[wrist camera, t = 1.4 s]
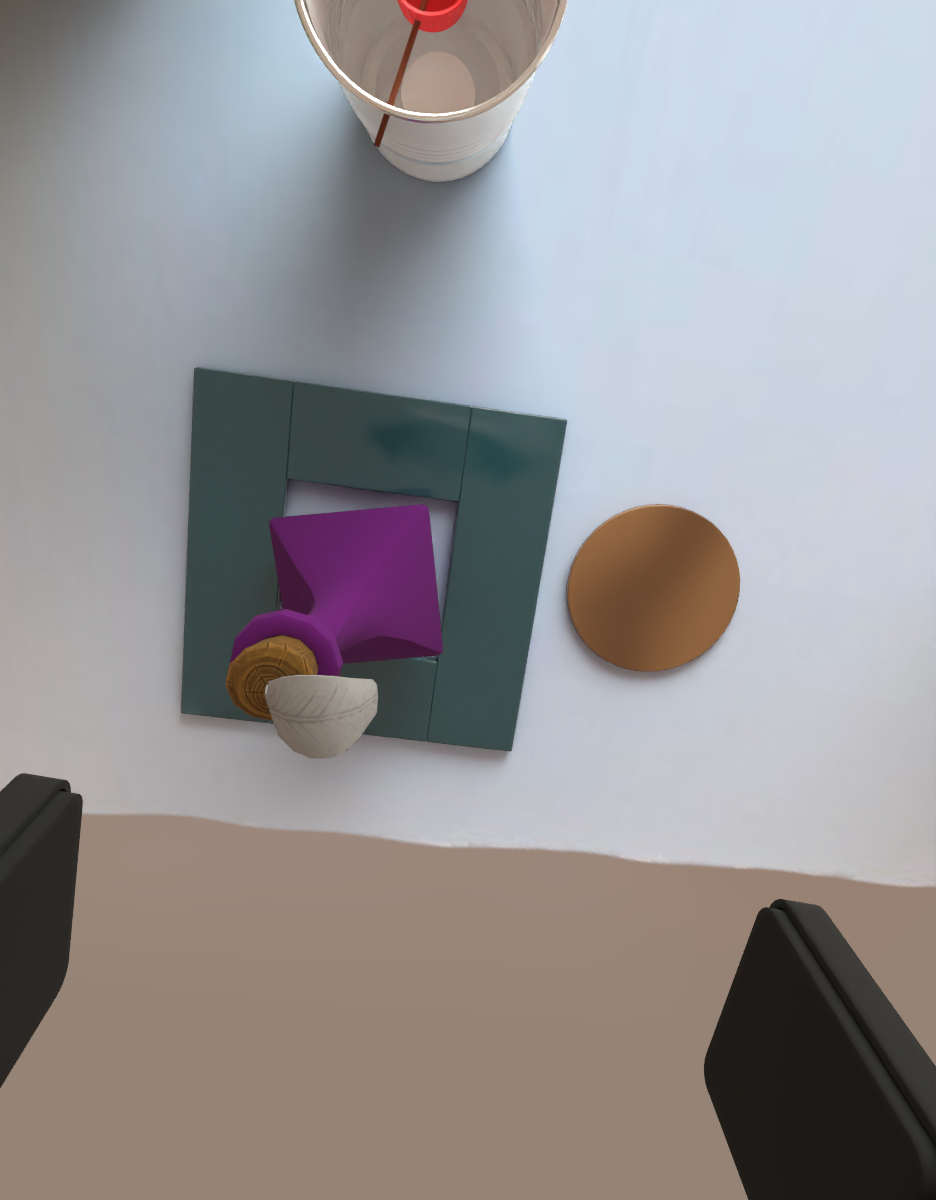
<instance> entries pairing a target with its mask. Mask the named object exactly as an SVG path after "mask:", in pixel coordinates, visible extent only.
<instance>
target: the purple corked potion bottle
mask: <svg viewBox="0 0 936 1200" xmlns="http://www.w3.org/2000/svg"><path fill="white" fill-rule="evenodd" d="M269 528H270V534H271V540H272V546H273V552H274V559H275V565H276V571H277V577H278V583H279V589H280V595H281V601H282V607H283V610H278V611H274V612H269V613H265V614H260V615H257V616H255V617H254V618H253V619H252V620H251V621H250V622H249V623H248V624H247V625H246V626H245V627H244V628H243V629H242V630H241V631H240V632H239V633H238V634H237V635H236V636H235V641H234V645H233V650H232V655H231V659H230V664H229V669H228V674H227V679H226V684H225V685H226V687H227V690H228V692H229V694H230V697H231V699H232V701H233V704H235V705H236V706H237V707H239V708H240V709H242V710H243V711H244V712H246V713H247V714H249V715H250V716H251V717H255V718H260V719H266V720H271V721H273V722H274V725H275V728H276V731H277V734H278V736H279V737H280V738H281V739H282V740H283V741H284V742H285V743H286V744H287V745H288V746H289V747H290V748H291V749H292V750H293V751H294V752H297V753H299V754H302V755H304V756H307V757H309V758H330V757H333V756H335V755H337V754H339V753H341V752H344V751H346V750H348V749H349V748H350V747H351V746H352V745H353V744H354V743H355V742H356V741H357V740H358V739H359V737H360V736H361V735H362V733H363V732H364V730H365V729H366V728H367V726H368V725H369V723H370V722H371V721H372V719H373V718H374V716H375V715H376V714H377V702H378V691H377V684H376V683H375V682H374V681H373V680H372V679H359V678H346V677H340V673H341V670H342V666H343V664H348V663H359V662H370V661H381V660H392V659H403V658H414V657H425V656H436V655H439V654H441V653H442V652H443V642H442V633H441V623H440V613H439V604H438V594H437V584H436V575H435V565H434V556H433V546H432V536H431V527H430V517H429V509H428V507H427V506H426V505H423V504H420V505H409V506H398V507H388V508H377V509H366V510H355V511H344V512H333V513H322V514H311V515H300V516H289V517H278V518H273V519H271V520H270V522H269Z"/></svg>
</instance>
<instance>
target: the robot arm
mask: <svg viewBox="0 0 936 1200" xmlns="http://www.w3.org/2000/svg"><path fill="white" fill-rule="evenodd" d="M82 804H83V800H82V796H81V795H80V794H76V793H71V788H70V784H69V782H68V781H67V780H62V779H56V778H50V777H44V776H38V775H31V774H25V773H23V774H19V775H18V776H16V777H15V778H14V779H13V780H12V781H11V782H10V783H9V784H8V785H7V786H6V787H5V788H3V789H2V790H1V791H0V1087H1V1086H2V1084H3V1083H4V1081H5V1079H6V1078H7V1076H8V1075H9V1073H10V1071H11V1069H12V1068H13V1066H14V1065H15V1063H16V1061H17V1060H18V1058H19V1057H20V1055H21V1053H22V1052H23V1050H24V1048H25V1047H26V1045H27V1043H28V1042H29V1040H30V1038H31V1037H32V1035H33V1034H34V1032H35V1030H36V1029H37V1027H38V1026H39V1024H40V1022H41V1021H42V1019H43V1017H44V1016H45V1014H46V1012H47V1011H48V1009H49V1008H50V1006H51V1004H52V1003H53V1001H54V999H55V998H56V996H57V994H58V992H59V991H60V988H61V986H62V984H63V981H64V978H65V975H66V971H67V968H68V962H69V951H70V940H71V929H72V917H73V906H74V895H75V884H76V873H77V862H78V850H79V839H80V828H81V817H82ZM704 1076H705V1083H706V1086H707V1089H708V1092H709V1095H710V1098H711V1100H712V1103H713V1106H714V1108H715V1111H716V1113H717V1116H718V1119H719V1122H720V1124H721V1127H722V1130H723V1132H724V1135H725V1138H726V1140H727V1143H728V1146H729V1149H730V1151H731V1154H732V1157H733V1159H734V1162H735V1165H736V1167H737V1170H738V1173H739V1176H740V1178H741V1181H742V1183H743V1186H744V1189H745V1192H746V1194H747V1197H748V1199H749V1200H936V1066H935V1065H934V1064H933V1062H932V1061H931V1059H930V1058H929V1056H928V1055H927V1054H926V1052H925V1051H924V1049H923V1048H922V1047H921V1045H920V1044H919V1042H918V1041H917V1040H916V1038H915V1037H914V1035H913V1034H912V1033H911V1031H910V1030H909V1028H908V1027H907V1026H906V1024H905V1023H904V1021H903V1020H902V1019H901V1017H900V1016H899V1014H898V1013H897V1011H896V1010H895V1009H894V1007H893V1006H892V1004H891V1003H890V1002H889V1001H888V999H887V997H886V996H885V995H884V993H883V992H882V991H881V989H880V988H879V986H878V985H877V984H876V982H875V981H874V979H873V978H872V976H871V975H870V974H869V972H868V971H867V969H866V968H865V967H864V965H863V964H862V962H861V961H860V960H859V958H858V957H857V955H856V954H855V952H854V951H853V950H852V948H851V947H850V946H849V944H848V943H847V941H846V940H845V938H844V937H843V936H842V934H841V933H840V931H839V930H838V929H837V927H836V926H835V925H834V923H833V922H832V920H831V919H830V917H829V916H828V915H827V913H826V912H825V911H824V910H823V909H822V908H821V907H820V906H817V905H813V904H807V903H801V902H795V901H789V900H783V899H778V900H775V901H774V902H773V903H772V904H771V906H770V908H767V907H766V908H762V910H760V911H759V913H758V915H757V917H756V920H755V923H754V926H753V928H752V931H751V934H750V936H749V939H748V942H747V945H746V947H745V950H744V953H743V955H742V958H741V961H740V964H739V966H738V969H737V972H736V974H735V977H734V980H733V983H732V986H731V988H730V991H729V994H728V996H727V999H726V1002H725V1005H724V1007H723V1010H722V1013H721V1015H720V1018H719V1021H718V1023H717V1026H716V1029H715V1032H714V1035H713V1037H712V1040H711V1043H710V1045H709V1048H708V1051H707V1053H706V1057H705V1063H704Z"/></svg>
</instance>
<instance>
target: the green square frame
mask: <svg viewBox="0 0 936 1200" xmlns="http://www.w3.org/2000/svg"><path fill="white" fill-rule="evenodd" d="M566 425H567V420H566V419H562V418H555V417H548V416H540V415H533V414H526V413H519V412H512V411H505V410H498V409H491V408H484V407H476V406H472V407H471V406H469V405H462V404H455V403H448V402H441V401H434V400H427V399H419V398H412V397H405V396H398V395H391V394H384V393H377V392H370V391H362V390H355V389H348V388H341V387H334V386H327V385H320V384H313V383H306V382H298V381H291V380H284V379H277V378H270V377H263V376H256V375H249V374H242V373H234V372H227V371H220V370H213V369H206V368H195V369H194V390H193V416H192V442H191V468H190V494H189V520H188V546H187V572H186V598H185V624H184V650H183V676H182V702H181V713H185V714H194V715H202V716H211V717H220V718H228V719H237V720H245V721H254V722H262V723H271V724H274V722H273V721H271V720H266V719H260V718H255V717H251V716H250V715H249V714H247V713H246V712H244V711H243V710H242V709H240V708H239V707H237V706H236V705H235V704H233V701H232V699H231V697H230V694H229V692H228V690H227V687H226V685H225V684H226V679H227V674H228V669H229V664H230V659H231V655H232V650H233V645H234V641H235V636H236V635H237V634H238V633H239V632H240V631H241V630H242V629H243V628H244V627H245V626H246V625H247V624H248V623H249V622H250V621H251V620H252V619H253V618H254V617H255V616H257V615H260V614H265V613H269V612H274V611H278V610H279V599H280V589H279V583H278V577H277V571H276V565H275V559H274V552H273V546H272V540H271V534H270V528H269V522H270V520H271V519H273V518H278V517H286V504H287V490H288V479H291V480H298V481H306V482H313V483H321V484H328V485H336V486H343V487H351V488H358V489H365V490H373V491H380V492H388V493H395V494H403V495H410V496H418V497H425V498H433V499H440V500H448V501H455V502H459V504H458V511H457V518H456V526H455V533H454V541H453V548H452V556H451V563H450V570H449V578H448V585H447V593H446V600H445V608H444V615H443V622H442V630H441V633H442V642H443V652H442V653H441V654H439V655H438V659H436V658H428V657H414V658H403V659H392V660H381V661H370V662H359V663H348V664H343V666H342V670H341V673H340V677H346V678H359V679H372V680H373V681H374V682H375V683H376V684H377V691H378V702H377V714H376V715H375V716H374V718H373V719H372V721H371V722H370V723H369V725H368V726H367V728H366V729H365V730H364V732H363V733H362V734H366V735H374V736H383V737H391V738H400V739H409V740H417V741H427V742H434V743H442V744H451V745H459V746H468V747H477V748H485V749H494V750H502V751H512V746H513V740H514V734H515V728H516V722H517V716H518V710H519V704H520V698H521V692H522V686H523V680H524V674H525V668H526V663H527V657H528V651H529V645H530V639H531V633H532V627H533V621H534V615H535V609H536V603H537V597H538V591H539V585H540V579H541V574H542V568H543V562H544V556H545V550H546V544H547V538H548V532H549V526H550V520H551V514H552V508H553V502H554V496H555V490H556V485H557V479H558V473H559V467H560V461H561V455H562V449H563V443H564V437H565V431H566Z"/></svg>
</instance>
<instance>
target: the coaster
mask: <svg viewBox="0 0 936 1200" xmlns="http://www.w3.org/2000/svg"><path fill="white" fill-rule="evenodd" d="M739 591H740V575H739V568H738V564H737V559H736V557H735V554H734V552H733V549H732V547H731V546H730V544H729V542H728V540H727V539H726V538H725V536H724V535H723V534H722V533H721V531H720V530H719V529H718V528H717V527H716V526H714V525H713V524H712V523H711V522H710V521H708V520H707V519H705V518H704V517H702V516H700V515H699V514H697V513H695V512H693V511H690V510H687V509H685V508H682V507H677V506H672V505H662V504H656V505H645V506H640V507H635V508H632V509H629V510H626V511H623V512H621V513H619V514H617V515H615V516H613V517H612V518H610V519H608V520H607V521H605V522H604V523H603V524H601V525H600V526H599V527H598V528H597V529H595V530H594V531H593V532H592V534H591V535H590V536H589V537H588V538H587V539H586V540H585V542H584V543H583V545H582V546H581V547H580V549H579V551H578V553H577V555H576V556H575V559H574V561H573V564H572V566H571V569H570V573H569V577H568V585H567V601H568V608H569V612H570V615H571V619H572V621H573V624H574V626H575V628H576V630H577V632H578V634H579V635H580V637H581V638H582V640H583V641H584V642H585V643H586V644H587V646H588V647H589V648H590V649H591V650H592V651H594V652H595V653H596V654H597V655H598V656H600V657H601V658H603V659H604V660H606V661H608V662H610V663H612V664H614V665H616V666H619V667H622V668H625V669H630V670H635V671H661V670H666V669H671V668H674V667H677V666H680V665H683V664H685V663H687V662H689V661H691V660H693V659H695V658H696V657H698V656H700V655H701V654H702V653H704V652H705V651H706V650H708V649H709V648H710V647H711V646H712V645H713V644H714V643H715V642H716V641H717V640H718V639H719V637H720V636H721V635H722V634H723V632H724V631H725V629H726V628H727V626H728V624H729V623H730V621H731V619H732V616H733V614H734V612H735V609H736V606H737V602H738V597H739Z"/></svg>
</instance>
